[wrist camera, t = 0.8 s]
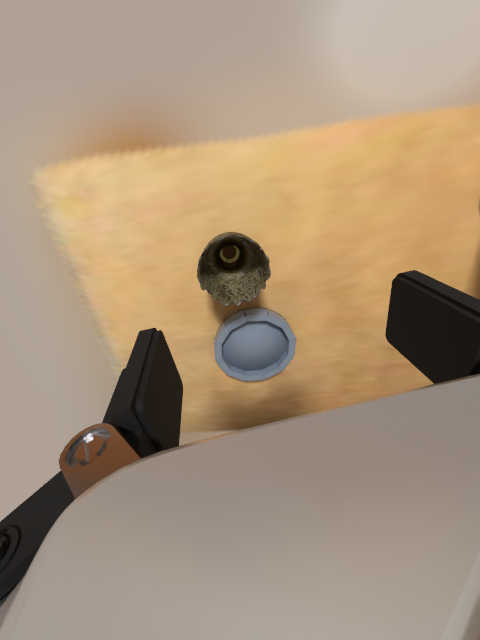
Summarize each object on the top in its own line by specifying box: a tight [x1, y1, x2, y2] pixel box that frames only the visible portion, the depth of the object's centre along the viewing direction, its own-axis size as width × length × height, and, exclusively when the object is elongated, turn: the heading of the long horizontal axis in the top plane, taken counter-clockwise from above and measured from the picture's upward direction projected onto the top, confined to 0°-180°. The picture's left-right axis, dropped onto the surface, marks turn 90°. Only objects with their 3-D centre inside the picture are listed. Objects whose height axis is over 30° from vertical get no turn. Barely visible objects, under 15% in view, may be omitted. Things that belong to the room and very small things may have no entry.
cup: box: [197, 232, 271, 306], centre depth 30 cm, size 8×7×8 cm
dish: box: [214, 308, 296, 381], centre depth 40 cm, size 12×12×2 cm
